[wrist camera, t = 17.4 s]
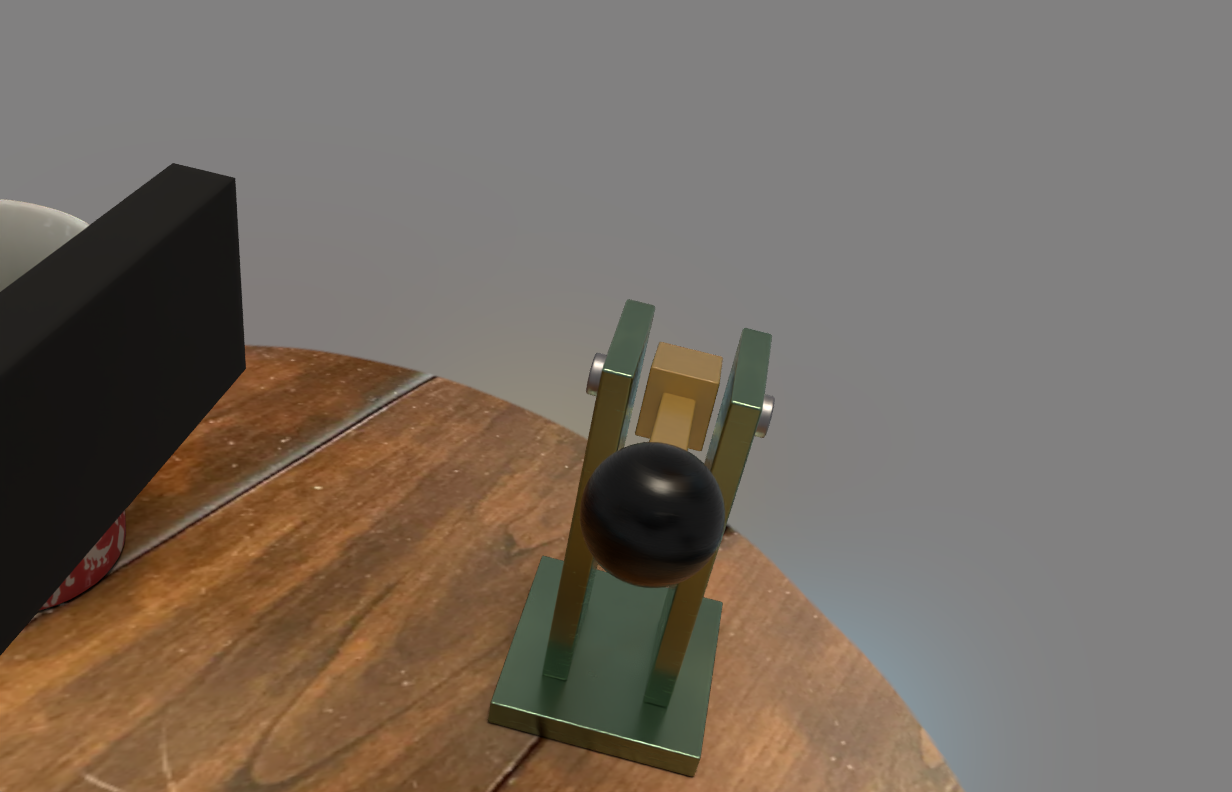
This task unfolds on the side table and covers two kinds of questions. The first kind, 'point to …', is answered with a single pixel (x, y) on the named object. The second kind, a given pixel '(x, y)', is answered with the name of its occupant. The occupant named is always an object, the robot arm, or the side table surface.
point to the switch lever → (660, 480)
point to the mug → (3, 251)
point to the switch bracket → (629, 593)
